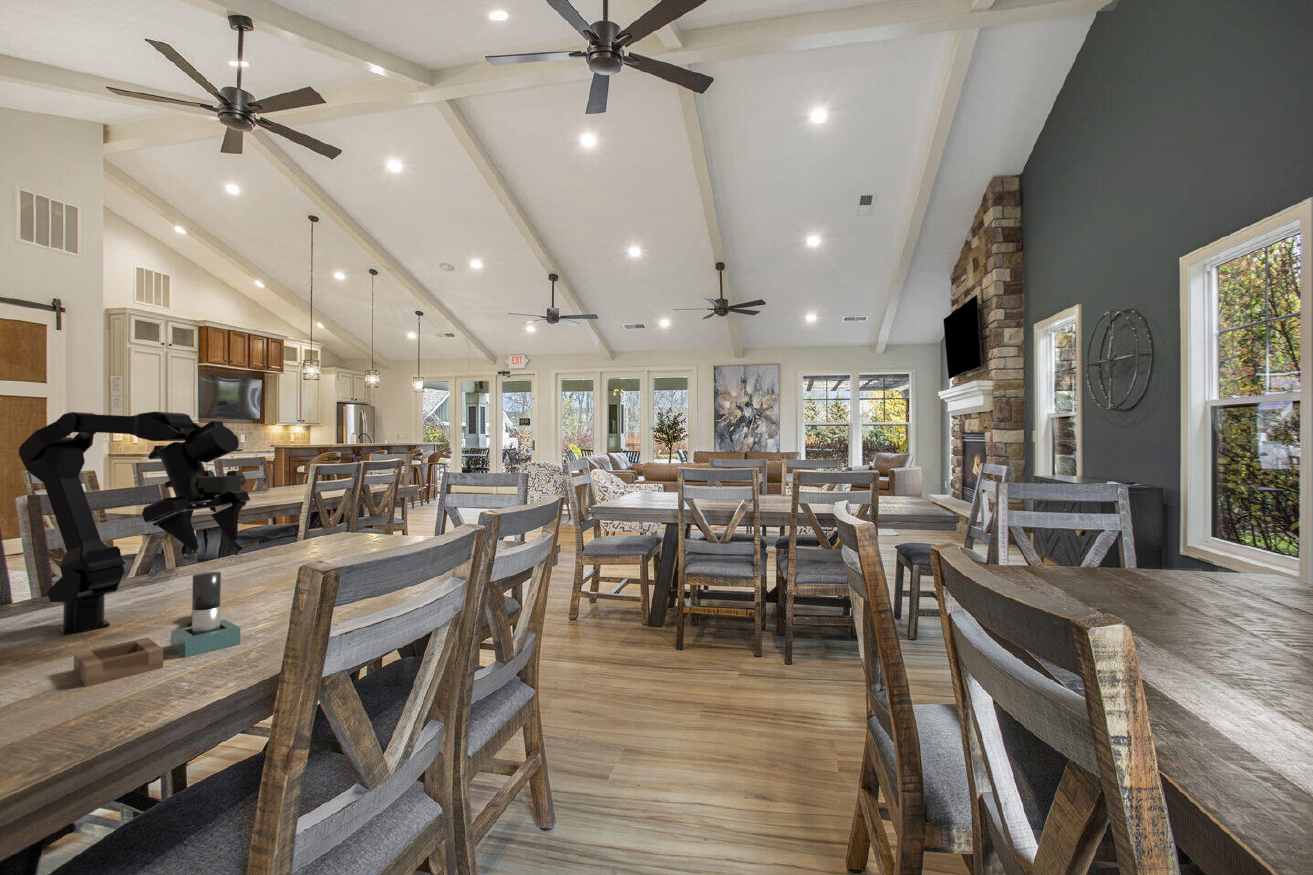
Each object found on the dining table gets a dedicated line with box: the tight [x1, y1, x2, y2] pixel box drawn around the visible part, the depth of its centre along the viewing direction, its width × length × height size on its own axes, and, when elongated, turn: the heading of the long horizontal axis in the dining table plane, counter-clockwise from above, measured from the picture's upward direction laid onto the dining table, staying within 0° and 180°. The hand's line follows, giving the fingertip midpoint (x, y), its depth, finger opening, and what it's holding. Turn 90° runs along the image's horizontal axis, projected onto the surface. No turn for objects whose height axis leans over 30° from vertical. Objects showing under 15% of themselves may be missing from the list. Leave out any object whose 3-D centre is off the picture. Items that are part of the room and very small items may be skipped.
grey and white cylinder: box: [191, 571, 222, 636], centre depth 102 cm, size 4×4×13 cm
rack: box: [73, 637, 164, 687], centre depth 91 cm, size 9×9×3 cm
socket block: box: [170, 619, 241, 658], centre depth 102 cm, size 8×8×3 cm
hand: (215, 544), depth 110 cm, fingers open, 9 cm apart
